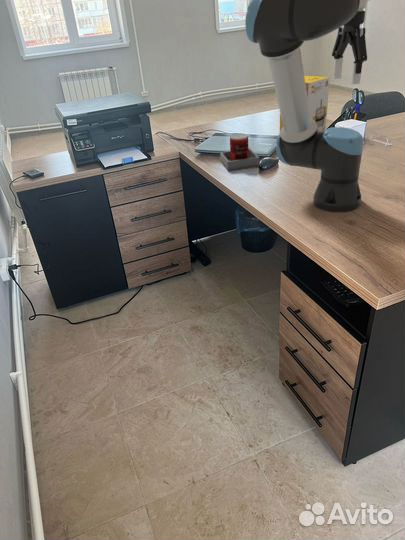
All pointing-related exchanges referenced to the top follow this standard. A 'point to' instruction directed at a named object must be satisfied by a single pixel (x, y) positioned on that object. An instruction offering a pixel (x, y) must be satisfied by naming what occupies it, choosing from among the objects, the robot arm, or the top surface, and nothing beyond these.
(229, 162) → the charcoal bin
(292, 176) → the top surface
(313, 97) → the packaging box
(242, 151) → the canned food
